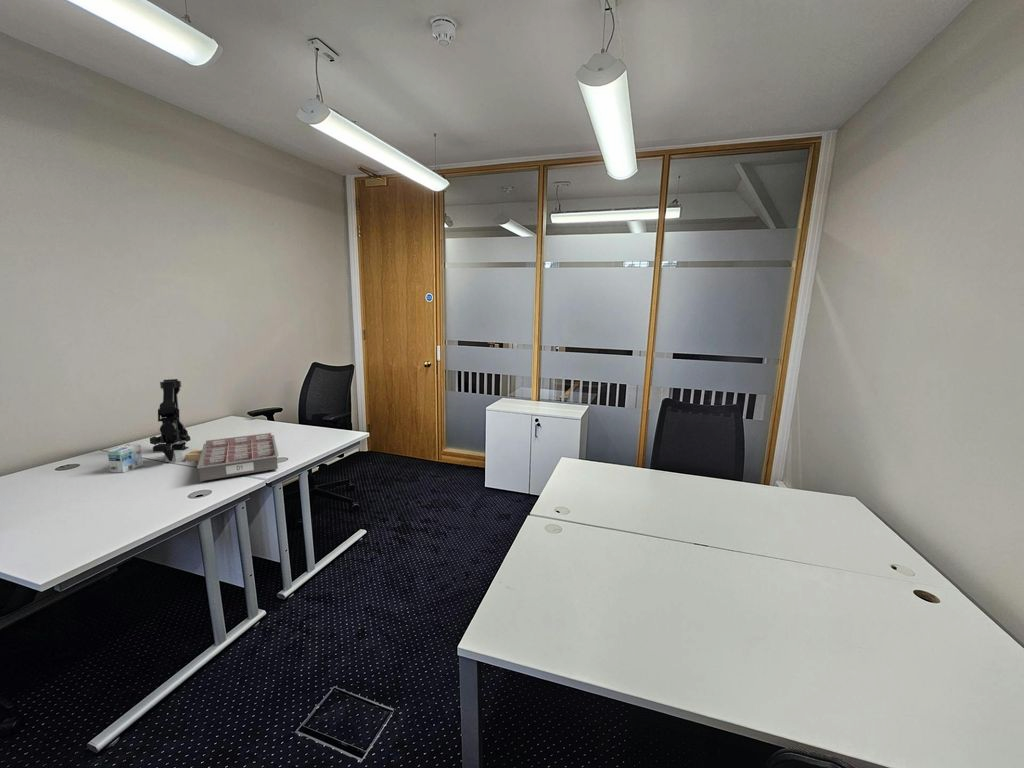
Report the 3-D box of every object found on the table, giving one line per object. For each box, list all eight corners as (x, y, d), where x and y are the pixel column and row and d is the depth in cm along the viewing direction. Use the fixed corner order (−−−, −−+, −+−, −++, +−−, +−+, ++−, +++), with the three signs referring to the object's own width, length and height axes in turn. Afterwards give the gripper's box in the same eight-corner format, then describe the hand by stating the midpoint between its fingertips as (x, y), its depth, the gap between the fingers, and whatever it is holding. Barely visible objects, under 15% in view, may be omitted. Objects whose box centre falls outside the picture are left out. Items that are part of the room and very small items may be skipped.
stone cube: (172, 459, 215) (171, 450, 215) (183, 459, 216) (182, 450, 215) (165, 462, 211) (164, 453, 210) (176, 462, 211) (175, 453, 210)
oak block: (195, 456, 220) (194, 449, 220) (211, 456, 221) (210, 449, 221) (185, 462, 213) (184, 454, 212) (202, 461, 214) (201, 454, 213)
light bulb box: (123, 473, 197) (120, 451, 195) (109, 472, 197) (106, 451, 195) (143, 464, 207) (141, 444, 206) (130, 464, 208) (127, 444, 206)
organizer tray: (198, 485, 185) (195, 464, 184) (205, 458, 218) (203, 440, 217) (279, 471, 202) (278, 452, 201) (275, 448, 236) (273, 431, 234)
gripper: (167, 425, 219) (170, 453, 222) (138, 435, 201) (143, 465, 203) (189, 424, 220) (192, 452, 222) (163, 435, 201) (167, 465, 204)
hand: (174, 459), depth 213 cm, fingers closed on stone cube, 5 cm apart
